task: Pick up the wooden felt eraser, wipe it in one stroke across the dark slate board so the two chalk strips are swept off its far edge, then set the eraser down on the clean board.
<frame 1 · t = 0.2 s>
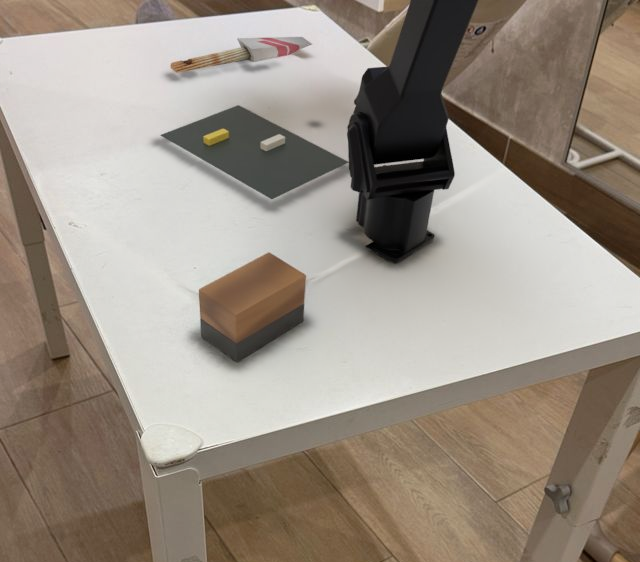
chalk strip yellow: (216, 140, 92), point 1 cm above the table, touching slate board
eraser: (253, 328, 71), on the table
slate board: (253, 156, 92), on the table
chalk strip white: (272, 146, 92), point 1 cm above the table, touching slate board
chopsticks in paper sleeve: (242, 66, 109), on the table
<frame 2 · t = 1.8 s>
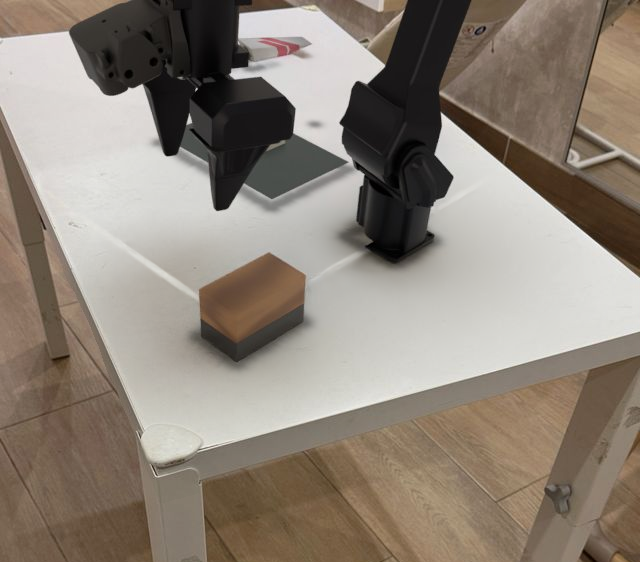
hand: (194, 181, 64), 12 cm above the table, tool pointing down, fingers open, 9 cm apart
nothing on the table moved.
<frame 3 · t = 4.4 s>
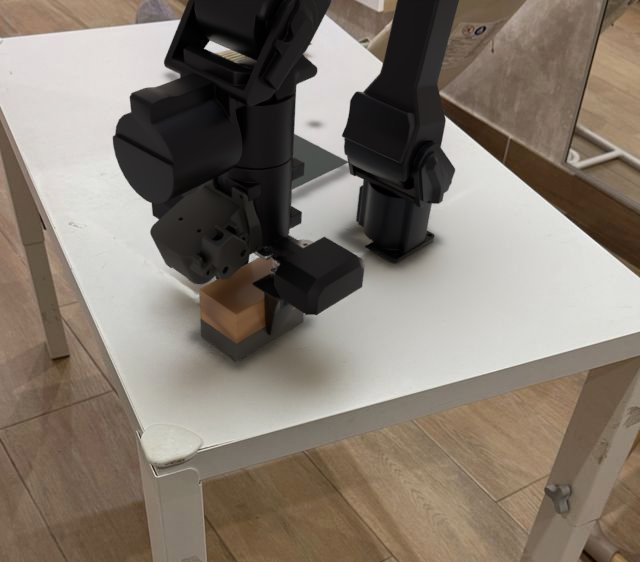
hand: (253, 319, 70), 1 cm above the table, tool pointing down, fingers closed on eraser, 4 cm apart
eraser: (253, 328, 71), on the table, touching gripper
everything else where it was.
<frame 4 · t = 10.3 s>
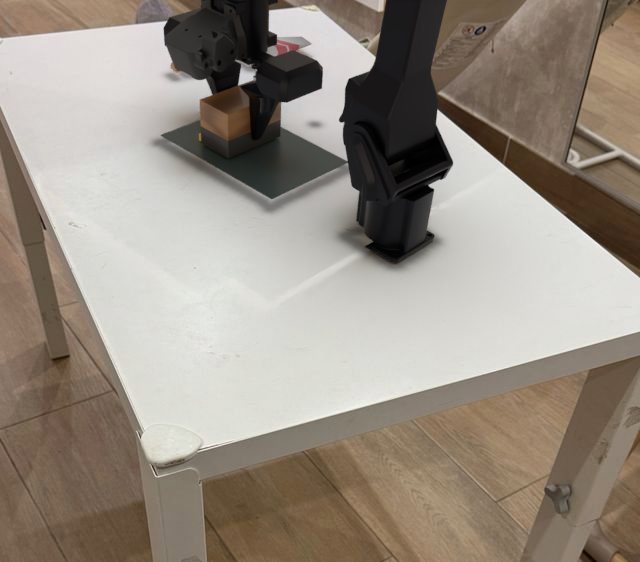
hand: (241, 131, 91), 2 cm above the table, tool pointing down, fingers closed on eraser, 4 cm apart
eraser: (241, 140, 92), point 1 cm above the table, touching gripper
chalk strip white: (238, 127, 94), point 1 cm above the table
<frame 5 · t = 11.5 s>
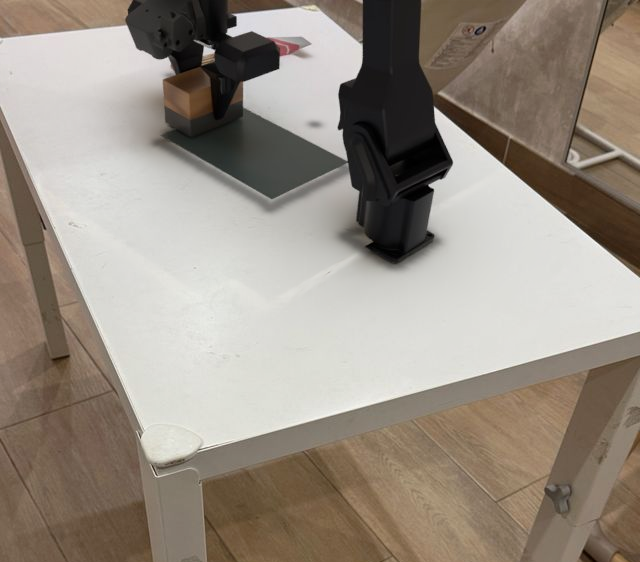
hand: (204, 111, 94), 2 cm above the table, tool pointing down, fingers closed on eraser, 4 cm apart
chalk strip yellow: (186, 128, 94), on the table, tilted 90°
eraser: (204, 119, 94), point 1 cm above the table, touching gripper
chalk strip white: (212, 117, 97), on the table, tilted 90°
everything else where it was.
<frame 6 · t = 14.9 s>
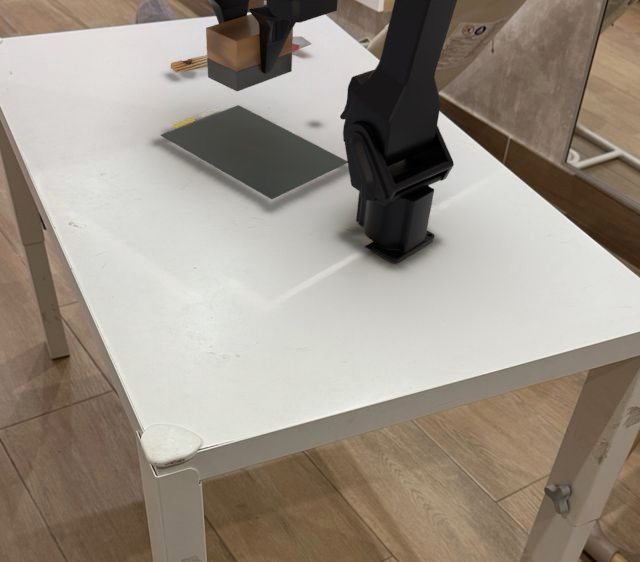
hand: (250, 65, 86), 10 cm above the table, tool pointing down, fingers closed on eraser, 4 cm apart
eraser: (250, 74, 86), point 9 cm above the table, touching gripper
everything else where it was.
when the fingers open (2 cm above the table, at t = 17.6 s): eraser stays where it is, resting on slate board.
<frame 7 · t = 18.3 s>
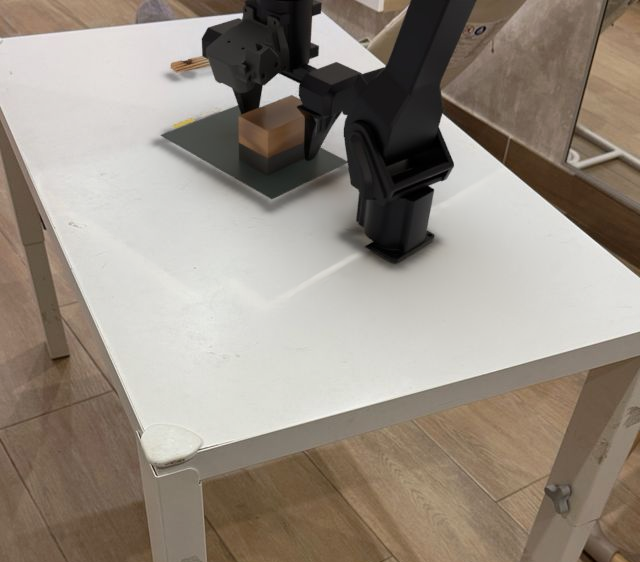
hand: (279, 143, 89), 2 cm above the table, tool pointing down, fingers open, 9 cm apart
eraser: (279, 156, 90), point 1 cm above the table, touching slate board
everything else where it was.
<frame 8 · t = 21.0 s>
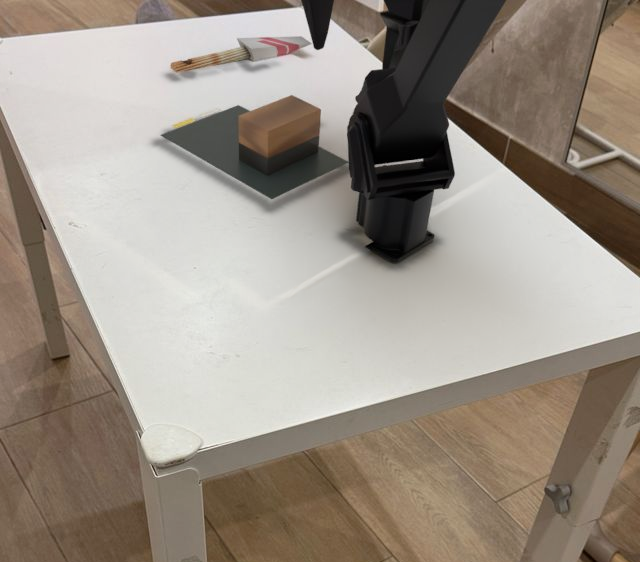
hand: (352, 63, 82), 12 cm above the table, tool pointing down, fingers open, 9 cm apart
nothing on the table moved.
at the end: chalk strip white inside the target area on the table beside the slate board (7.0 cm from its centre), point 0.5 cm above the table; chalk strip yellow inside the target area on the table beside the slate board (7.1 cm from its centre), point 0.5 cm above the table; eraser inside the target area on the slate board (3.2 cm from its centre), point 1.0 cm above the slate board's base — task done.
